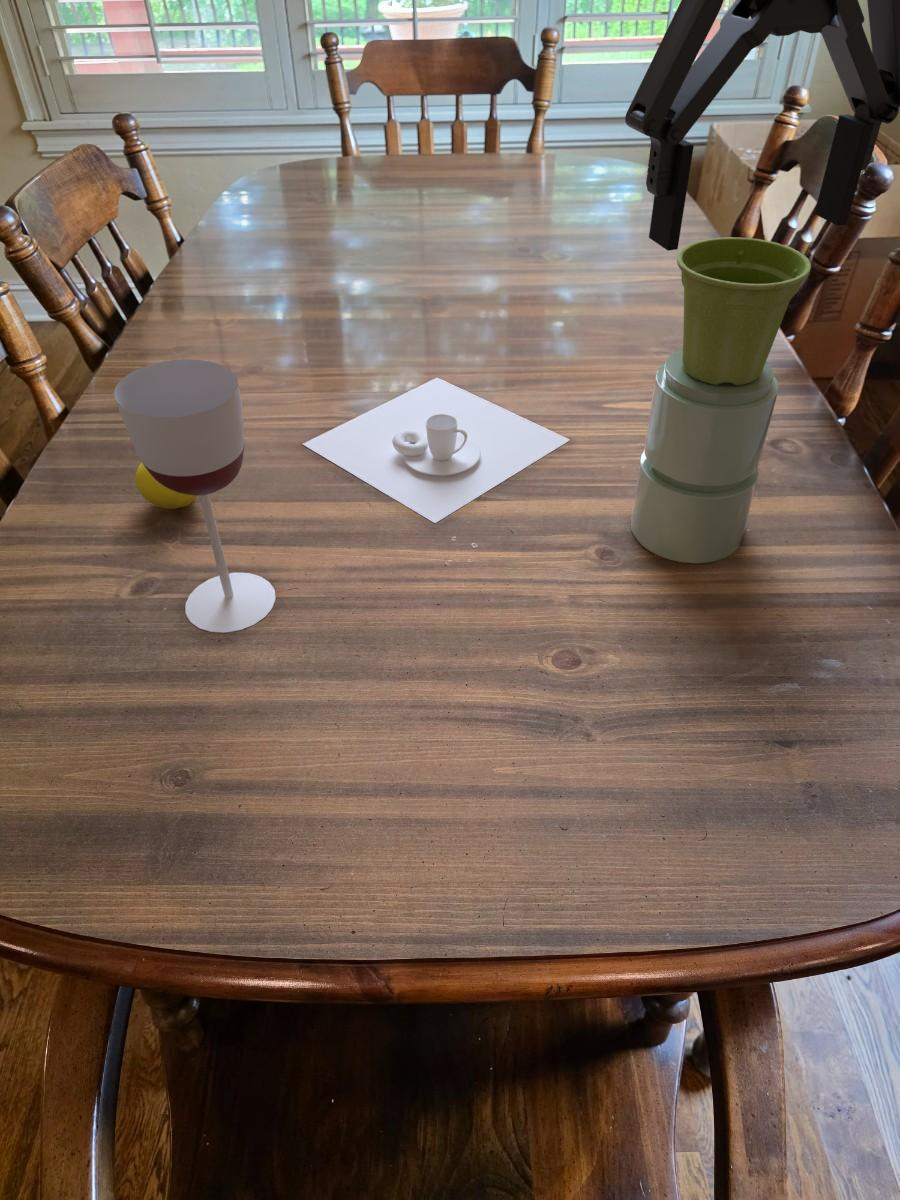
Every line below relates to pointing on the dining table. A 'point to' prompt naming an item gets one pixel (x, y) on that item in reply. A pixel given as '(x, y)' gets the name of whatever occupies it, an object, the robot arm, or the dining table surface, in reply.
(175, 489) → the wineglass
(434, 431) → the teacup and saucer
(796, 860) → the dining table surface
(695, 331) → the plant pot
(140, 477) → the lemon
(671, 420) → the cup stack
